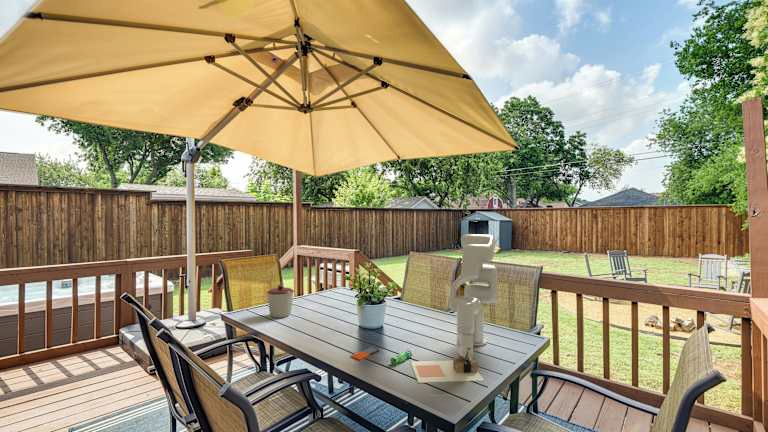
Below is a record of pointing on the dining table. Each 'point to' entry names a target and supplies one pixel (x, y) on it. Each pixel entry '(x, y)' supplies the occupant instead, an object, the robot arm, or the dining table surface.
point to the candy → (401, 357)
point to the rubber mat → (440, 372)
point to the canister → (280, 301)
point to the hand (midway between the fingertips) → (465, 368)
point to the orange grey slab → (364, 353)
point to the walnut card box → (459, 364)
